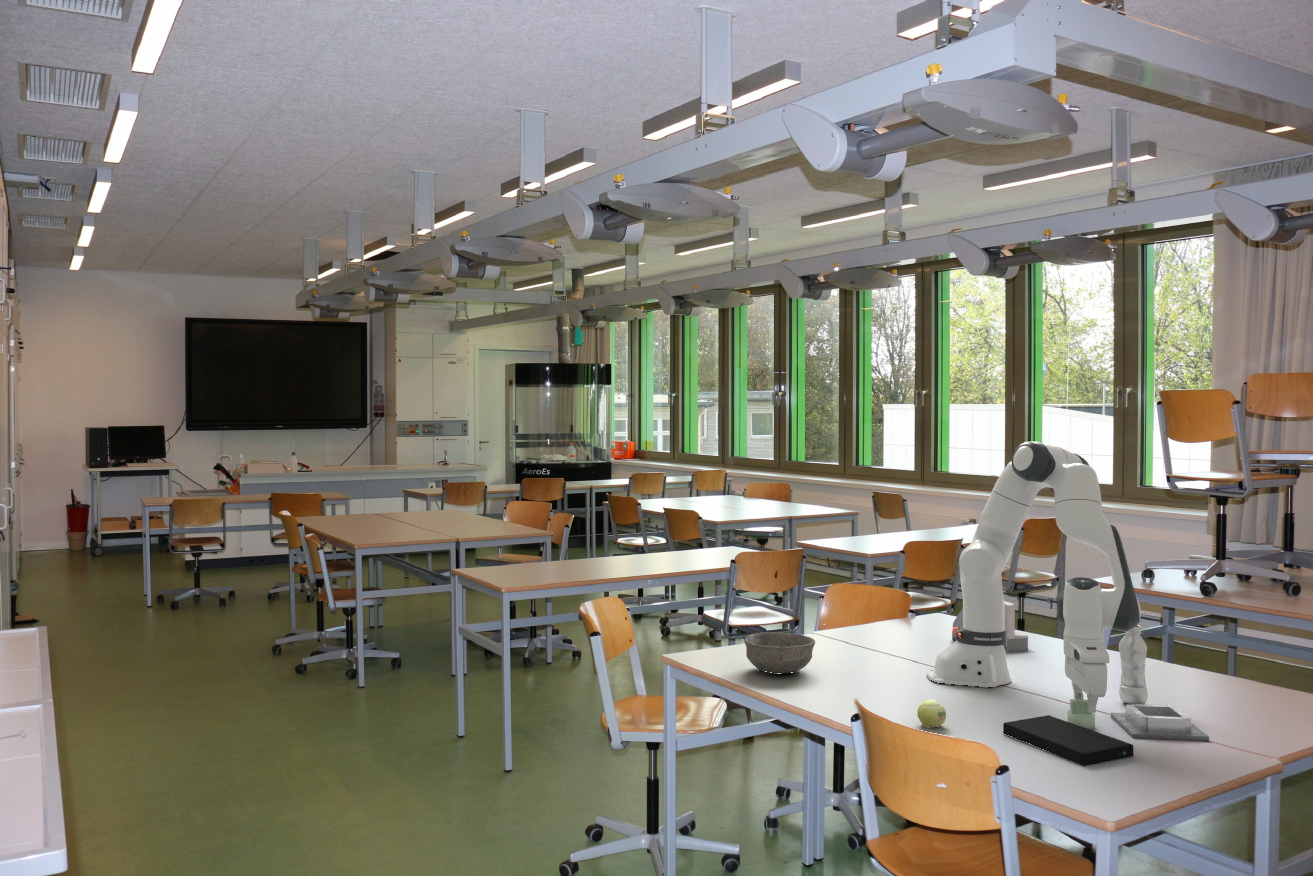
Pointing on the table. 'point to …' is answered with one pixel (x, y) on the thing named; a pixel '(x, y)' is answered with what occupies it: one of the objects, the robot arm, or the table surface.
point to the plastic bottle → (1133, 667)
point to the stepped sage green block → (1080, 714)
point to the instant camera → (1014, 638)
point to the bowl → (779, 651)
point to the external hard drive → (1068, 740)
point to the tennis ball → (931, 713)
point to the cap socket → (1158, 723)
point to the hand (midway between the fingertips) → (1084, 706)
